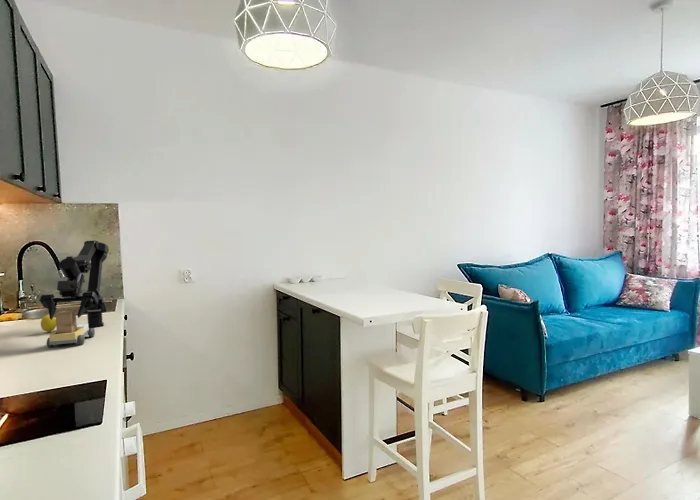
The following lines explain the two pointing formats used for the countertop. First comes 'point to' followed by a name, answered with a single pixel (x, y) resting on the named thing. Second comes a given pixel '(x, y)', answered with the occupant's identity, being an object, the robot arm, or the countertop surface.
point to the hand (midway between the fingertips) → (64, 318)
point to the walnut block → (66, 321)
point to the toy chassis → (71, 336)
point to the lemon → (48, 323)
